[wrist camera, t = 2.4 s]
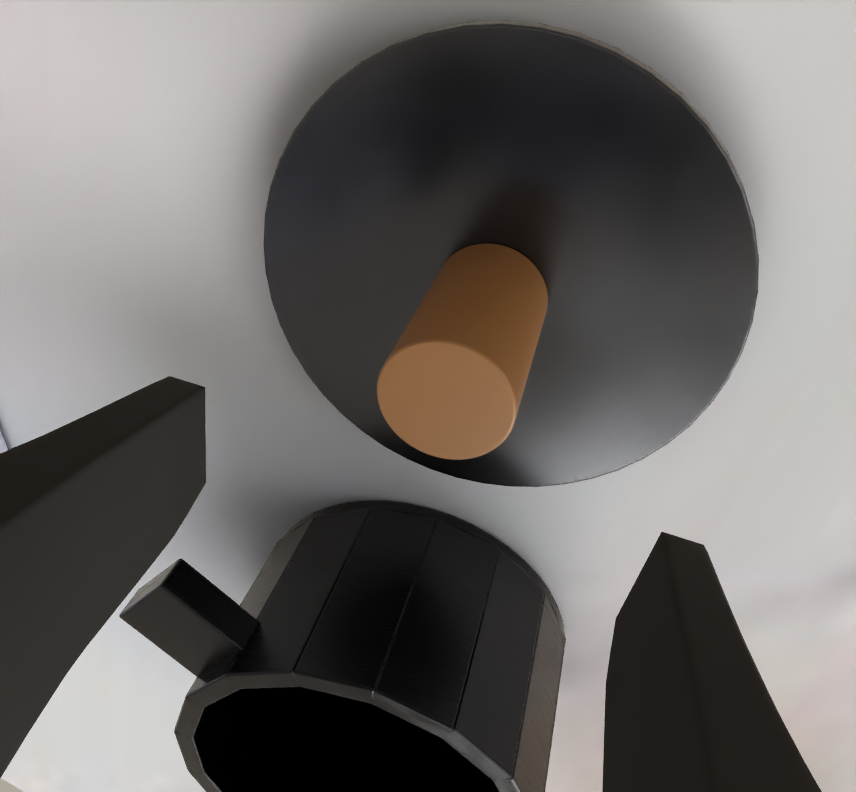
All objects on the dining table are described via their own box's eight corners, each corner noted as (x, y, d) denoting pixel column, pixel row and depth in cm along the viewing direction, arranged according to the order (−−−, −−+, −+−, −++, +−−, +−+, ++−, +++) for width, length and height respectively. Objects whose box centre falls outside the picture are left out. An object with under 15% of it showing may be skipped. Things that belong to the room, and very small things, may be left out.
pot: (463, 775, 30) (421, 955, 25) (162, 528, 27) (41, 681, 21) (682, 709, 25) (686, 923, 20) (338, 383, 21) (232, 543, 16)
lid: (488, 519, 22) (444, 674, 18) (201, 246, 20) (66, 350, 15) (861, 312, 16) (934, 472, 12) (517, -129, 13) (443, -137, 9)
